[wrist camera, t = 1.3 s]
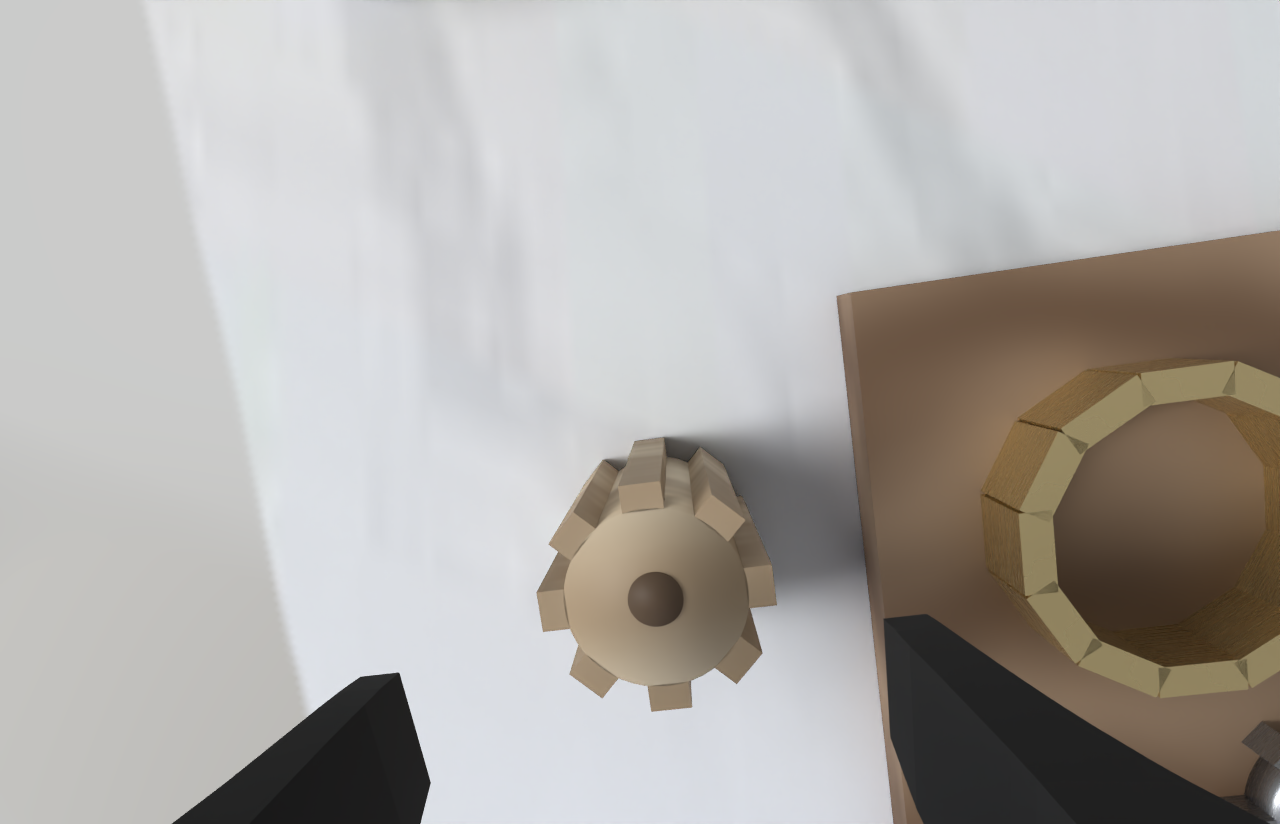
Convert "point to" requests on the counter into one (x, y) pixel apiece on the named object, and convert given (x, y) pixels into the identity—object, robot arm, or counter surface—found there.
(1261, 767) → the steel gear
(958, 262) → the counter surface
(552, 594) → the maple gear
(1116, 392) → the brass ring socket
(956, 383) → the walnut board
